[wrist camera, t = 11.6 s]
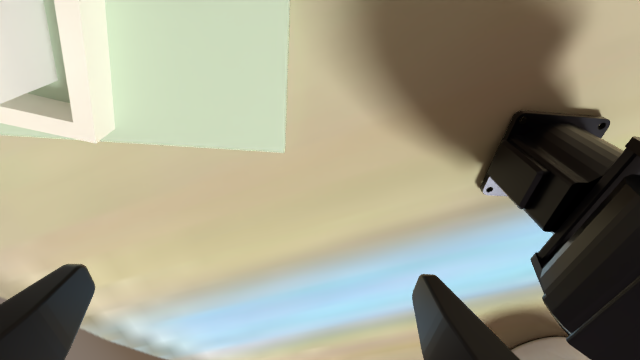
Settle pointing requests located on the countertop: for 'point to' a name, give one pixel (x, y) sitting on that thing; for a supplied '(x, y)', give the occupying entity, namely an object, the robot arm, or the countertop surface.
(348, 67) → the countertop surface
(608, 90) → the countertop surface
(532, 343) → the mug
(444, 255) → the countertop surface
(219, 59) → the board
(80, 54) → the white square frame
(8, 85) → the plug
